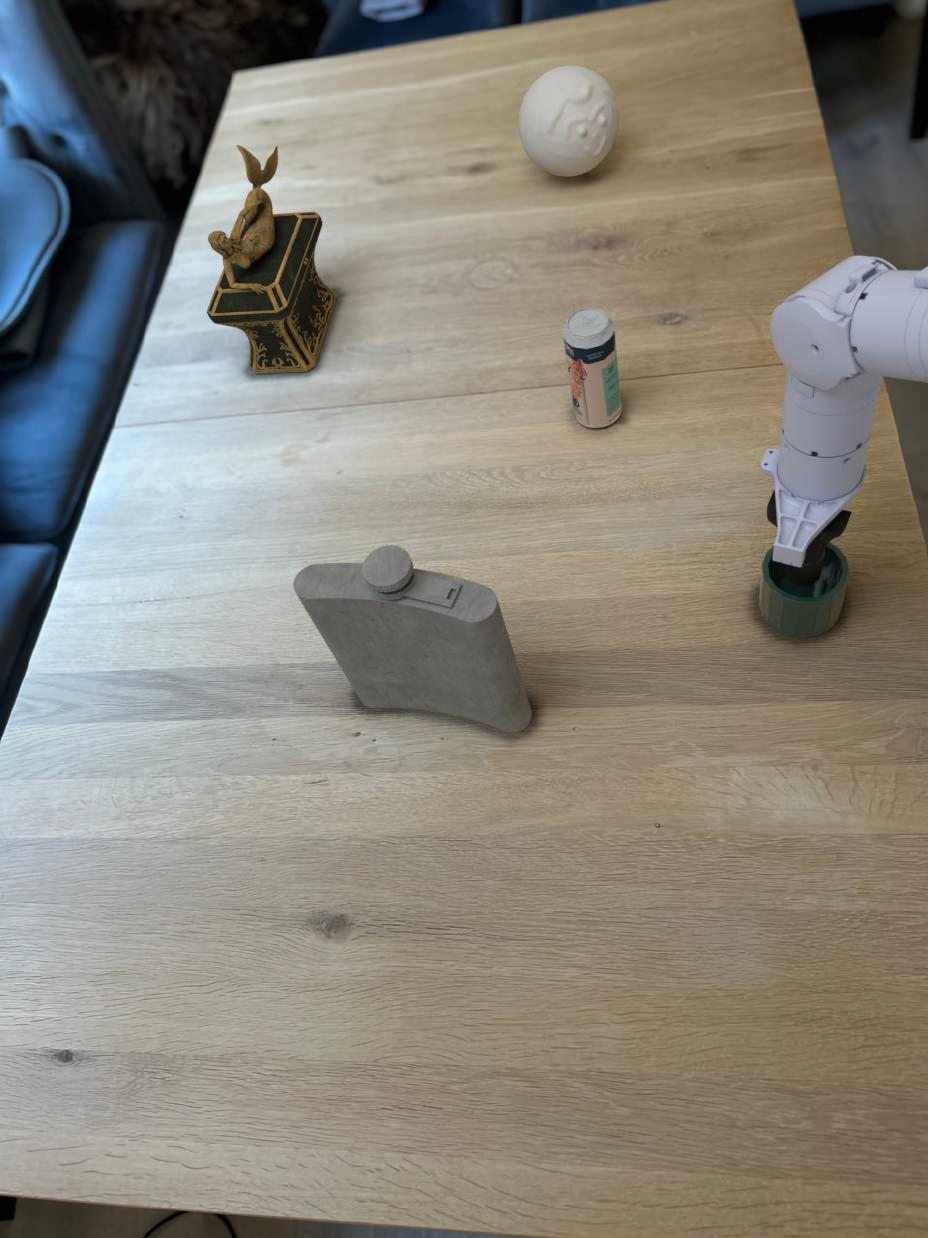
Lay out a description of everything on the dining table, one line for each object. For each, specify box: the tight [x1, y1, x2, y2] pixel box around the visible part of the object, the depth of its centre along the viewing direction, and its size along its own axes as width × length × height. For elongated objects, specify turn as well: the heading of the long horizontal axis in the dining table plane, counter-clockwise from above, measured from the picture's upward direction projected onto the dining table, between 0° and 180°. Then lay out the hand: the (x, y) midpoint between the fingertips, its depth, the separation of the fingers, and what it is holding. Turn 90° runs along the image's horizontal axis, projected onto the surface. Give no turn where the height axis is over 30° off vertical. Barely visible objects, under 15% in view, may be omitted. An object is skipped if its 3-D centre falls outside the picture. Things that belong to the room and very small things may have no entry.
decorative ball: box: [518, 64, 620, 178], centre depth 119 cm, size 12×12×12 cm
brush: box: [785, 550, 825, 586], centre depth 78 cm, size 3×3×7 cm
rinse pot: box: [758, 541, 850, 639], centre depth 82 cm, size 7×7×6 cm
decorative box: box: [206, 144, 338, 374], centre depth 110 cm, size 20×10×20 cm, turn 171°
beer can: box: [562, 306, 623, 429], centre depth 96 cm, size 5×5×12 cm
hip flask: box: [292, 544, 533, 734], centre depth 78 cm, size 16×4×20 cm, turn 73°
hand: (808, 546), depth 78 cm, fingers closed on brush
